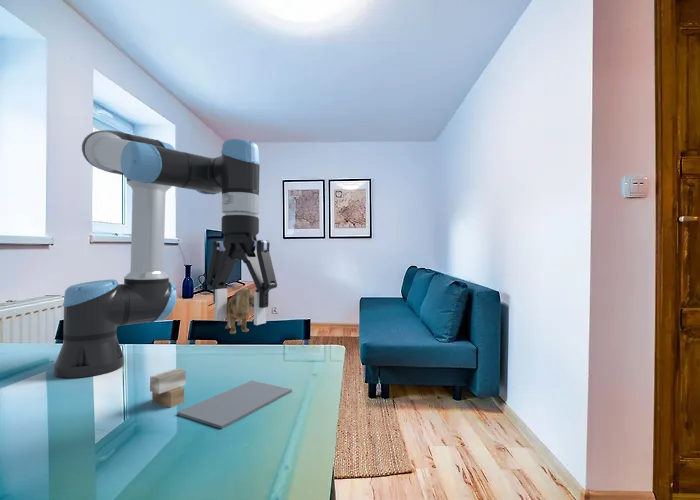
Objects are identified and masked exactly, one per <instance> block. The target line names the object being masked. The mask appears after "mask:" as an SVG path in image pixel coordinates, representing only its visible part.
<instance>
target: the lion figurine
mask: <svg viewBox="0 0 700 500" xmlns="http://www.w3.org/2000/svg"><path fill="white" fill-rule="evenodd" d="M251 308H253V309H254V294H252V293H251V289H249V288H242V289H239V290H237V291H236V292H235V293H234V294H233V295H232V296H231V298H229V300H228V301H227V323H226V325H225V326H224V329H227V330H228V329H230V331H229V334H231V335H235V334H236V333H237V329H236V321H237V326H241V327H240V329H241V331H242V332H243V333H248V332H249V331H250V329H249V328H247V322H248V316H249V313H250V312H251Z"/></svg>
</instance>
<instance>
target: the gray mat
mask: <svg viewBox="0 0 700 500" xmlns="http://www.w3.org/2000/svg"><path fill="white" fill-rule="evenodd" d="M292 391H293V389H291V388H288V387H282V386H278V385H273V384H270V383H265V382H261V381H255V380H249V381H247V382H244V383H242V384H240V385H237V386H235V387H233V388H230V389H228V390H225V391H223V392H221V393H219V394H217V395H214V396H211V397H209V398H207V399H205V400H202V401H199V402H197V403H196V404H193V405H190V406H188V407H186V408H183V409H181V410H178V411H177V413H176V414H177V415H178V416H180V417H184V418H187V419H190V420H194V421H196V422H200V423H202V424H205V425H208V426H212V427H215V428H218V429H221V430H222V429H225V428H226V427H228V426H230V425H232V424H234V423H235V422H238V421H239V420H242V419H243V418H245V417H247V416H249V415H251V414H252V413H254V412H256V411H258V410H260V409H263V408H264V407H266V406H268V405H269V404H271V403H273V402H275V401H276V400H279V399H280V398H283V397H284V396H286V395H289V394H290V393H293V392H292Z"/></svg>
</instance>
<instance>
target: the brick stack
mask: <svg viewBox="0 0 700 500" xmlns="http://www.w3.org/2000/svg"><path fill="white" fill-rule="evenodd" d="M186 374H187V370H185V369H180V368H174V369H170V370H167V371H163V372H160V373H157V374H154V375H151V376H150V378H149V391H150V392H151V393H152V395H151V397H152V400H151V401H152V403H154V404H155V403H156V404H158V405H162V406H165V407H168V408H174V407H176V406H179V405H181V404H183V403H185V388H184V387H183V386H186V385H187V384H186V383H187V382H186V381H187V380H186V379H187V377H186V376H187V375H186Z"/></svg>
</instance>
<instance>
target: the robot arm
mask: <svg viewBox="0 0 700 500" xmlns="http://www.w3.org/2000/svg"><path fill="white" fill-rule="evenodd" d="M221 146H222V148H221V151H220V154H221V155H219V156H216V157H207V156H203V155H199V154H195V153H190V152H186V151H180V150H177V149H176V148H175V147H174V146H173V145H172V144H170V143H167V142H164V141H161V140H159V139H153V138H149V137H144V136H139V135H136V134H130V133H126V132H122V131H118V130H113V129H112V130H109V129H105V130H96V131H92V132H90V133H89V134H87V135H86V137H84V139H83V140H82V144H81V153H82V156H83V157H84V159H85V161H86V162H87V163H89V164H90V165H91V166H93V167H94V168H97V169H99V170H102V171H104V172H108V173H111V174H116V175H122V176H124V178H125V179H126V184H127V185H128V186H129V187H130V188H131V189H132V195H131V196H132V197H131V199H132V200H131V201H132V202H131V203H132V204H131V231H130V232H131V237H130V238H131V239H130V270H129V272H128V273H127V274H126V275H125V276H124V277H123V283H122V284H119V282H118V280H116V279H103V280H101V279H100V280H94V281H93V280H92V281H86V282H80V283H76V284H73V285H70V286H68V287H66V289H65V291H64V295H63V296H64V297H63V303H62V307H63V342H62V346H61V348H60V351H59V353H58V356H57V357H56V358H57V359H56V361H55V363H54V366H53V369H54V370H53V375H54V374H55V375H56V376H55V375H54V376H55V377H57V376H59V377H58V378H63V377H65V379H66V378H67V379H68V378H70V379H71V378H73V379H74V378H85V377H92V376H97V375H98V376H99V375H102V374H107V373H110V372H113V371H116V370H118V369H121V368H122V367H124V363H125V362H124V361H125V357H124V352H123V351H122V347H121V346H120V343H119V340H118V335H117V331H118V329H117V328H118V327H121V326H127V325H128V326H129V325H134V324H135V325H136V324H144V323H155V322H157V321H158V322H159V321H164V320H166V319H168V318H169V317H170V316H171V315H172V313H173V312H174V309H175V307H176V303H177V295H178V293H177V290H176V286H175V284H174V282H172V281H170V277H169V275H168V274H167V273H166V272H165V271H164V265H165V263H164V261H165V254H164V253H165V226H166V225H165V223H166V222H165V221H166V195H167V194H166V193H167V191H169V190H170V189H171V188H172V187H175V188H176V187H177V188H181V189H185V190H186V189H188V190H194V191H196V192H198V193H199V194H202V195H216V194H220V193H221V213H222V214H224V215H222V217H221V229H220V230H221V231H220V232H221V233H222V234H224V239H223V241H221V240H220V241H217V240H215V241H213V242H212V255H211V258H210V263H209V266H208V267H209V268H208V271H207V276H206V281H205V284H206V286H210V287H211V288H212V289H213V293H212V295H213V299H212V300H213V301H212V302H213V304H214V321H221V320H226V319H228V314H227V309H228V288H227V285H226V283H227V281H228V279H229V277H230V274H231V272H232V270H233V268H234V266H235V264H236V263H237V262H238V261H242V263H244V264H245V265H246V268H247V269H248V272H249V274H250V277H251V278H252V280H253V283H254V285H255V287H256V289H255V290H254V292H253V296H254V308H253V326H254V325H255V326H260V325H262V324H266V323H267V308H268V307H269V299H270V298H269V292H270V290H273V289H276V288H277V287H278V283H277V279H276V273H275V269H274V266H273V262H272V257H271V254H270V253H271V252H270V241H269V240H263V239H258V237H257V235H258V234H259V233H260V218H259V217H258V215H259V214H260V165H261V162H260V150H259V147H258V145H257V143H256V142H253V141H250V140H248V139H244V138H243V139H242V138H230V139H226V140H224V142H223V143H222V145H221Z"/></svg>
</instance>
